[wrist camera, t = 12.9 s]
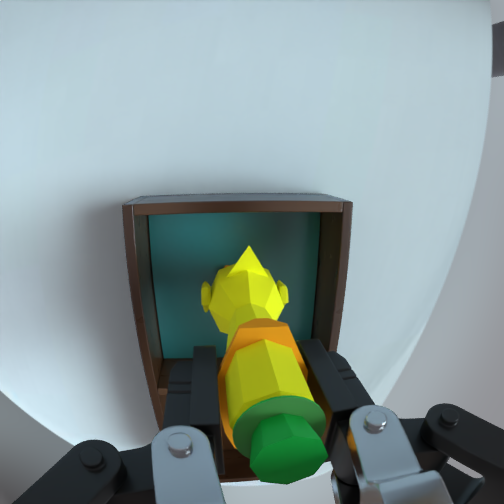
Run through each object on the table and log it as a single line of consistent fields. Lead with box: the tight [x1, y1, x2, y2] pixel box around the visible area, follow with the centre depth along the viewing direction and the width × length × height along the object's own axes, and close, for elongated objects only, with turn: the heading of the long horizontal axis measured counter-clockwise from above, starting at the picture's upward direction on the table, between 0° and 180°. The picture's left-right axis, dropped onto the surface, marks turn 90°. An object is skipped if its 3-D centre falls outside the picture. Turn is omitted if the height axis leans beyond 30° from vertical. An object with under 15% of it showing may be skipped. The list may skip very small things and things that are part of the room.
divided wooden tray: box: [122, 193, 353, 483], centre depth 17 cm, size 10×20×4 cm, turn 0°
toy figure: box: [201, 246, 328, 484], centre depth 11 cm, size 7×4×12 cm, turn 178°
